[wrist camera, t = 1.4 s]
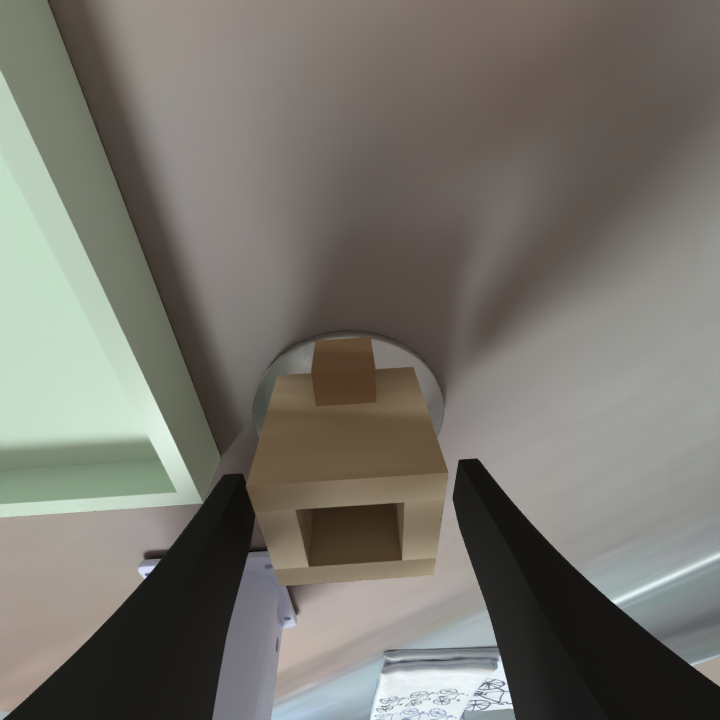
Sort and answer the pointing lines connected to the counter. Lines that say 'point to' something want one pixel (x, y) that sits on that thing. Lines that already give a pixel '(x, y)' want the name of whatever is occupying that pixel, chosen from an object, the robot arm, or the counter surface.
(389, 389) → the tan wooden hollow block
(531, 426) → the counter surface
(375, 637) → the counter surface
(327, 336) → the silver knobbed lid
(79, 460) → the tray
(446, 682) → the bicycle print towel
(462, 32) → the counter surface
